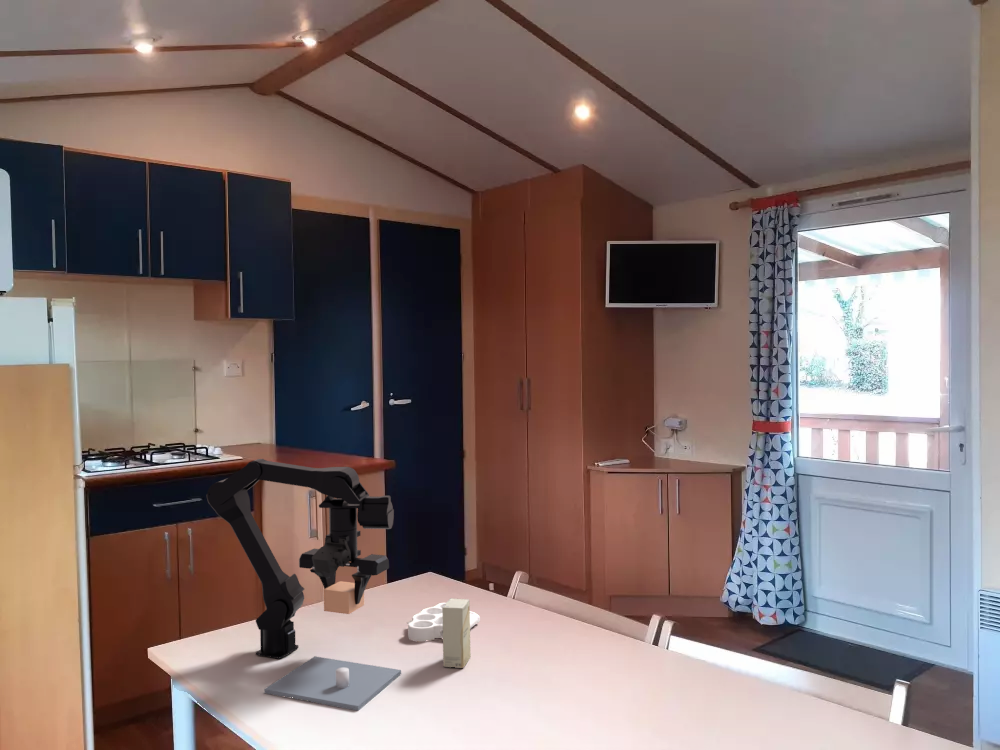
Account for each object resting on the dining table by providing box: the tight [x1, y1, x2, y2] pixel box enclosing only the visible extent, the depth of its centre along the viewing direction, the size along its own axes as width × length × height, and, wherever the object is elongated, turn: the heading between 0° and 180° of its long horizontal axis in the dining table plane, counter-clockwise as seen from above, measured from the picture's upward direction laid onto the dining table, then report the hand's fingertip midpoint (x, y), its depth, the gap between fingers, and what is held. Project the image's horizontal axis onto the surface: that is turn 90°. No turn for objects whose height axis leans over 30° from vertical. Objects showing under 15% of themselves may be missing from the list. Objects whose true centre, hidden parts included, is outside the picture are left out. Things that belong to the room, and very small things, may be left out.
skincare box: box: [442, 598, 472, 669], centre depth 152 cm, size 6×4×12 cm
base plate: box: [264, 655, 402, 711], centre depth 142 cm, size 20×16×4 cm
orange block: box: [323, 580, 365, 615], centre depth 156 cm, size 6×6×4 cm
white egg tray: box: [406, 602, 481, 642], centre depth 171 cm, size 3×18×15 cm
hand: (344, 602), depth 156 cm, fingers closed on orange block, 6 cm apart
